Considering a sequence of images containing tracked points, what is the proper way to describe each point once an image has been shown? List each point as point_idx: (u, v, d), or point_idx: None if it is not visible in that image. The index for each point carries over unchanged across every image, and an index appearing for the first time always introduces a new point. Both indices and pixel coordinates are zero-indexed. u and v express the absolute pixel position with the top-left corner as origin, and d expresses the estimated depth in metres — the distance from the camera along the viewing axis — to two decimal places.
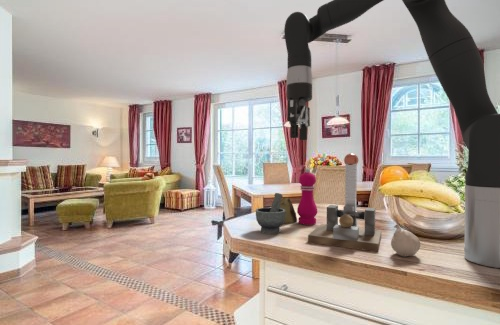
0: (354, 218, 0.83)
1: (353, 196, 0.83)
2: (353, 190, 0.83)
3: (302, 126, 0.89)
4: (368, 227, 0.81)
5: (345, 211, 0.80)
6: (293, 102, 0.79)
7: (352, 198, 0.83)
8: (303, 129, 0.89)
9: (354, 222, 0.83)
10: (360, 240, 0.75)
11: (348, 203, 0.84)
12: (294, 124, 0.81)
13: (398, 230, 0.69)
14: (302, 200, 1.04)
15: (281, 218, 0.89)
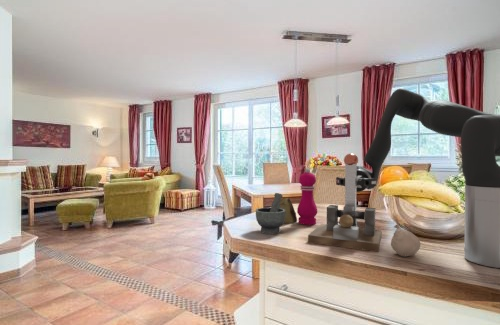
0: (354, 218, 0.83)
1: (353, 196, 0.83)
2: (353, 190, 0.83)
3: None
4: (368, 227, 0.81)
5: (345, 211, 0.80)
6: (336, 179, 0.96)
7: (352, 198, 0.83)
8: None
9: (354, 222, 0.83)
10: (360, 240, 0.75)
11: (348, 203, 0.84)
12: None
13: (398, 230, 0.69)
14: (302, 200, 1.04)
15: (281, 218, 0.89)
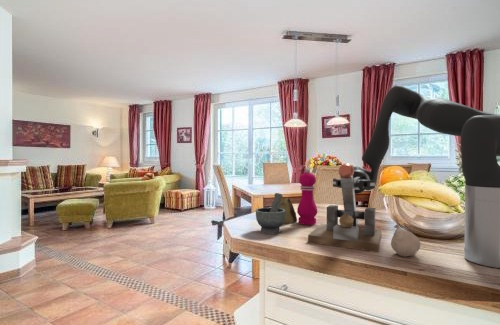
0: (354, 220, 0.84)
1: (352, 204, 0.81)
2: (351, 199, 0.80)
3: None
4: (368, 227, 0.81)
5: None
6: (333, 181, 0.91)
7: (351, 205, 0.81)
8: None
9: (355, 223, 0.84)
10: (360, 240, 0.75)
11: (347, 209, 0.82)
12: None
13: (398, 230, 0.69)
14: (302, 200, 1.04)
15: (281, 218, 0.89)
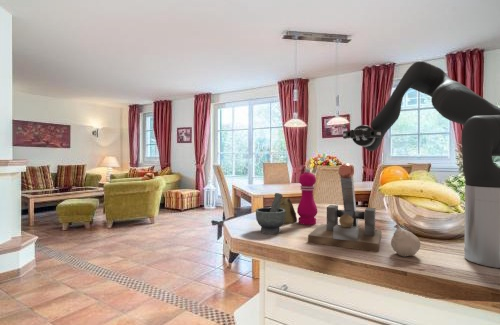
0: (354, 220, 0.84)
1: (352, 204, 0.81)
2: (351, 199, 0.80)
3: None
4: (368, 227, 0.81)
5: None
6: (343, 133, 1.02)
7: (351, 205, 0.81)
8: None
9: (355, 223, 0.84)
10: (360, 240, 0.75)
11: (347, 209, 0.82)
12: None
13: (398, 230, 0.69)
14: (302, 200, 1.04)
15: (281, 218, 0.89)
